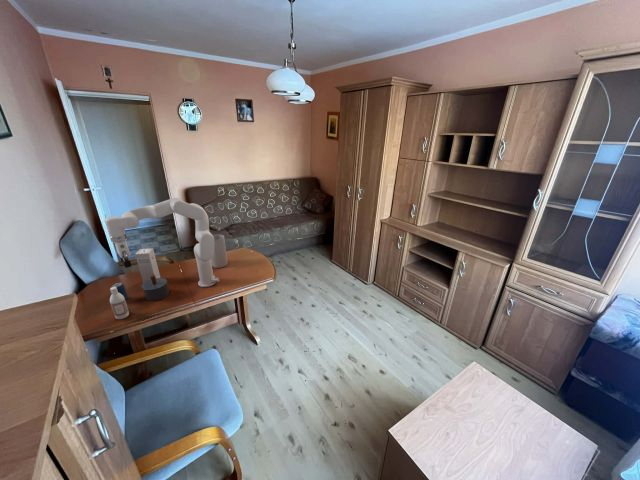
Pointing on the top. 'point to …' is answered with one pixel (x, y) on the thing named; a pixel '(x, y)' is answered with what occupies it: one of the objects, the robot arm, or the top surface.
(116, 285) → the soda can
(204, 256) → the robot arm
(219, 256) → the cylinder vase
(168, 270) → the top surface
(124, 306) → the bath foam
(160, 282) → the tin lid
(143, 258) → the box
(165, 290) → the tin
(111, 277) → the top surface
